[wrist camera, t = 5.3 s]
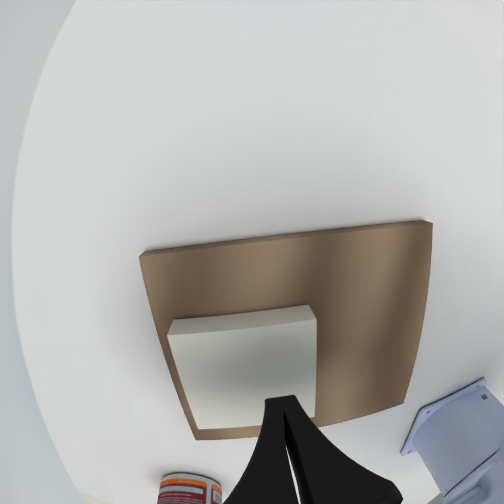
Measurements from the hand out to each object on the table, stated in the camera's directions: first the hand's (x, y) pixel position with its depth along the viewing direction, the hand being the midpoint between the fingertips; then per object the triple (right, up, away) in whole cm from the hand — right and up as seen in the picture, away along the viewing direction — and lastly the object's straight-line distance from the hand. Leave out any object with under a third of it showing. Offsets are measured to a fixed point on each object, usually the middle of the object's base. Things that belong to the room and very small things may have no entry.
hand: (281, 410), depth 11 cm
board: (+2, +1, +5) cm, 5 cm away
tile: (+2, +1, +3) cm, 4 cm away
